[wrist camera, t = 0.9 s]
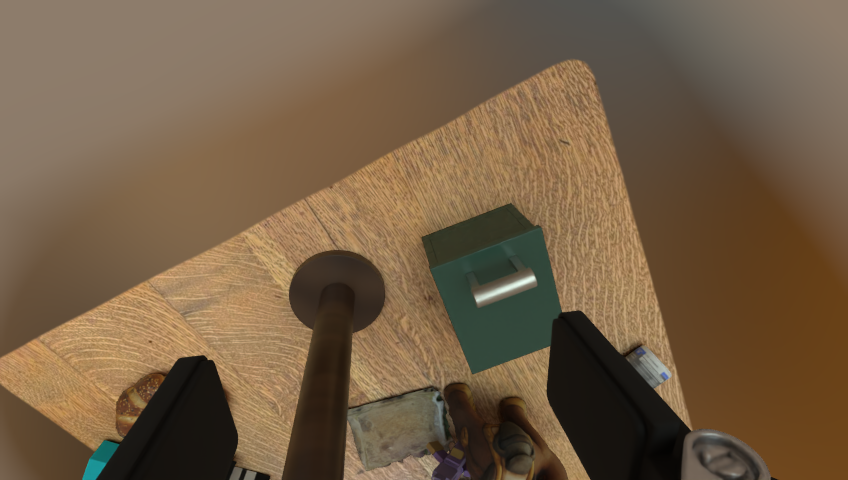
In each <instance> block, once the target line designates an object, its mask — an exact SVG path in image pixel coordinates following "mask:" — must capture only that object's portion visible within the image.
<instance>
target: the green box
mask: <svg viewBox="0 0 848 480" xmlns="http://www.w3.org/2000/svg"><path fill="white" fill-rule="evenodd" d="M533 226H534V225H533V224H532V223H531V222H530V221H529V220H528V219H527V218H526V217H525V216H524V215H522V214H521V213H520V212H519V211H518V210H517V209H516V208H515V207H514V206H513V205H512V204H511V203H510V204H508V205H505V206H503V207H500V208H497V209H495V210H492V211H489V212H487V213H484V214H482V215H479V216H476V217H474V218H471V219H468V220H466V221H463V222H460V223H458V224H455V225H453V226H450V227H447V228H445V229H442V230H439V231H437V232H434V233H432V234H429V235H426V236H424V237H422V241H423V245H424V248H425V251H426V255H427V258H428V262H429V265H433V264H435V263H438V262H441V261H443V260H446V259H449V258H451V257H454V256H457V255H459V254H462V253H465V252H467V251H470V250H472V249H475V248H478V247H480V246H483V245H486V244H488V243H491V242H494V241H496V240H499V239H502V238H504V237H507V236H510V235H512V234H515V233H517V232H520V231H523V230H525V229H528V228H531V227H533Z"/></svg>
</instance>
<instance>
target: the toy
mask: <svg viewBox="0 0 848 480" xmlns="http://www.w3.org/2000/svg"><path fill="white" fill-rule="evenodd" d="M119 445H120V444H117V443H113V442H109V441H106V440H104V441H103V442H102V444H101V445H100V446H99V448H98V449H97V450H96V451H95V453H94V454H93V455H92V457H91V458H90V459H89V462H88V465H87V468H86V470H85V474H84V476H83V479H82V480H96V478H97V477H98V475H99V474H100V473H101V471H102V470H103V468H104V467H105V465H106V464H107V462H108V461H109V459H110V458H111V456H112V455H113V453H114V452H115V451H116V449H117V448H118V446H119ZM235 464H236V462H235V461H232V463H231V466H230V468H229V471H228V474H227V477H226V479H225V480H269V479H270V476H267V475H263V474H260V473H256V472H253V471H249V470H246V469H242V468H239V467H235Z"/></svg>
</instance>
